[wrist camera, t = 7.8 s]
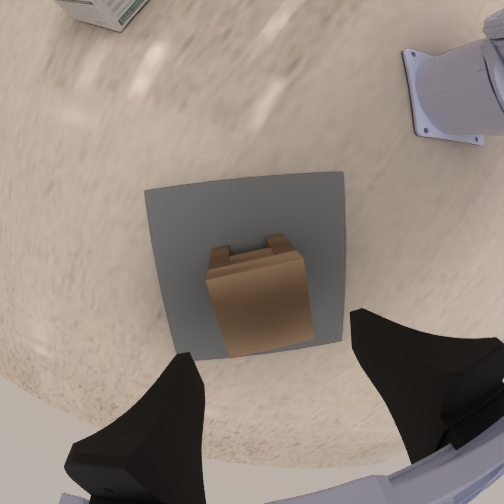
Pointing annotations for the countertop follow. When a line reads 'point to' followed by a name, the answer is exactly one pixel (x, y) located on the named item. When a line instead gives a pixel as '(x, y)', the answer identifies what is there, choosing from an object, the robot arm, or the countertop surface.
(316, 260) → the mat
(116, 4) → the syrup box
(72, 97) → the countertop surface
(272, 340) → the notched brown block
